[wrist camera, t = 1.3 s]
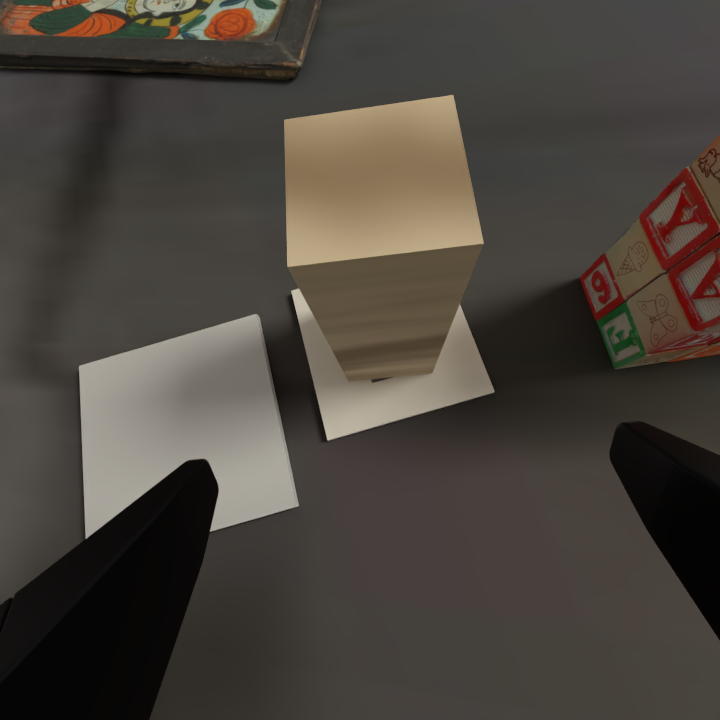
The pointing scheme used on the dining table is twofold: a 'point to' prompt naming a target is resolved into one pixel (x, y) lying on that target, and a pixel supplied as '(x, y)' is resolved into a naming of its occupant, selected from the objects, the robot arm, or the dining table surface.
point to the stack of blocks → (664, 274)
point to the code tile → (390, 380)
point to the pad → (186, 423)
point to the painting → (159, 36)
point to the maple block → (381, 231)
